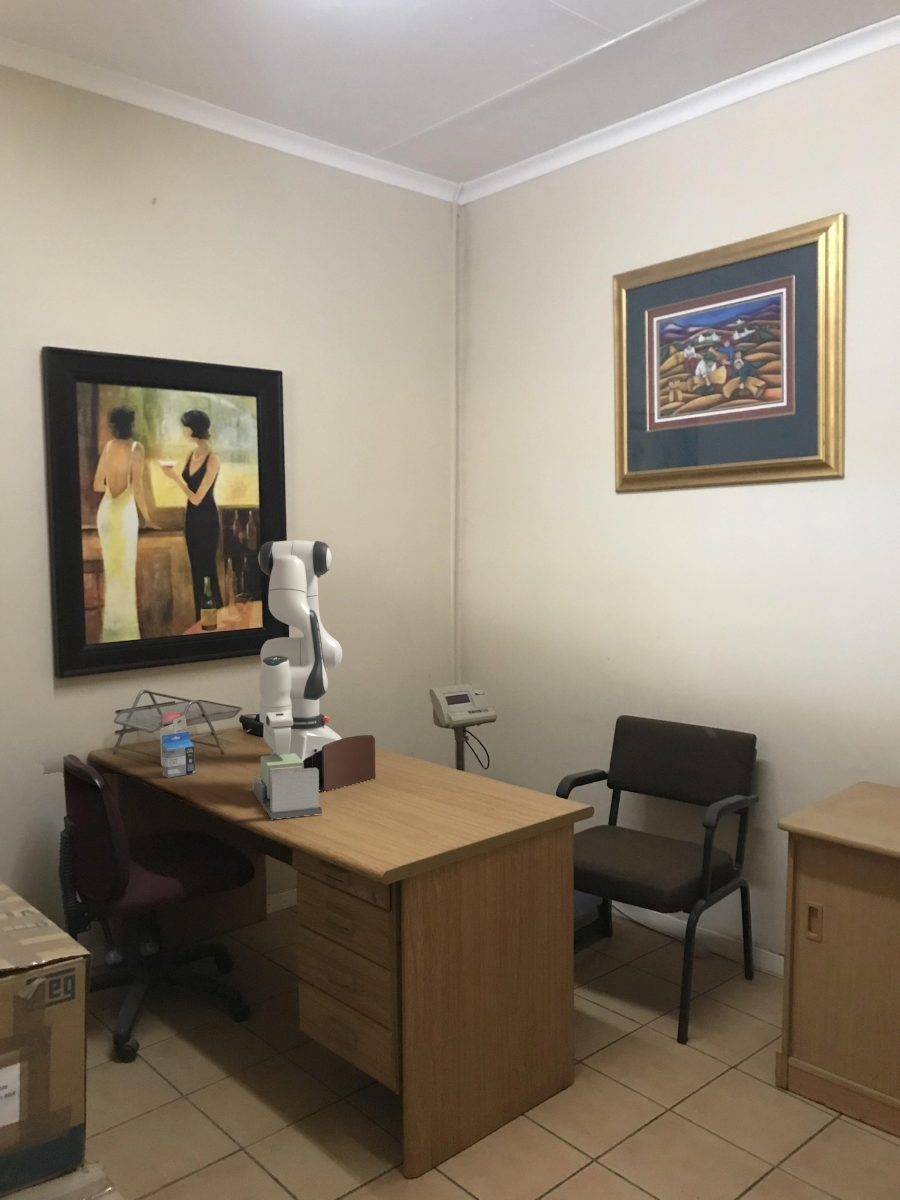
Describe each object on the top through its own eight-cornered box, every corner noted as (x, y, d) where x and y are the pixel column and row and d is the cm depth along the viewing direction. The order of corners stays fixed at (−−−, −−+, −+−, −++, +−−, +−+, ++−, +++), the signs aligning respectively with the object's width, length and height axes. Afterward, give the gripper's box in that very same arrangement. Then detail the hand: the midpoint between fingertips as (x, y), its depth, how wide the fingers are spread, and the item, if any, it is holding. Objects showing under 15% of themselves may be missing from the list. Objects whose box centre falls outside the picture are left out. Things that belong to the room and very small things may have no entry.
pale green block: (261, 788, 261) (260, 756, 260) (295, 784, 265) (295, 753, 264) (268, 799, 250) (268, 766, 250) (304, 795, 254) (304, 762, 253)
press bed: (251, 790, 265) (251, 750, 264) (297, 786, 270) (297, 746, 269) (271, 820, 238) (270, 775, 237) (321, 814, 243) (321, 771, 242)
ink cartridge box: (173, 759, 301) (172, 713, 300) (187, 760, 300) (187, 714, 299) (160, 765, 292) (159, 719, 291) (174, 766, 291) (174, 719, 290)
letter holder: (376, 779, 278) (376, 732, 277) (323, 793, 264) (323, 743, 263) (353, 773, 285) (353, 727, 284) (301, 786, 271) (301, 737, 269)
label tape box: (167, 778, 278) (167, 737, 277) (161, 775, 281) (161, 735, 280) (195, 773, 283) (195, 733, 282) (189, 770, 286) (188, 731, 286)
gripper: (257, 709, 272) (258, 756, 273) (271, 722, 253) (271, 773, 254) (279, 707, 274) (280, 754, 275) (294, 720, 255) (294, 771, 256)
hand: (276, 763), depth 264 cm, fingers closed
